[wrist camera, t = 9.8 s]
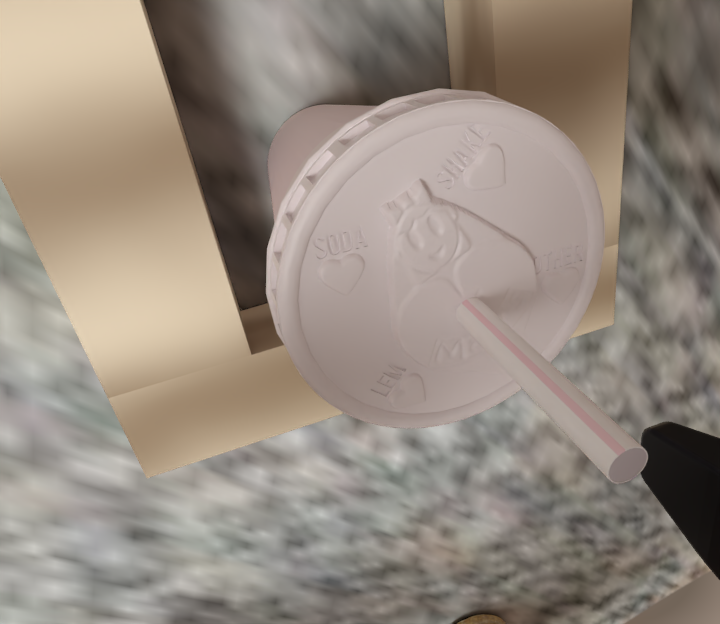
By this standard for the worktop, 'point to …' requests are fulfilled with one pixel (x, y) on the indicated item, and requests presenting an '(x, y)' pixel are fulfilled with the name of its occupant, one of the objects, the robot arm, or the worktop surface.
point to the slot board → (191, 214)
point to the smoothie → (437, 262)
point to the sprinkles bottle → (482, 620)
